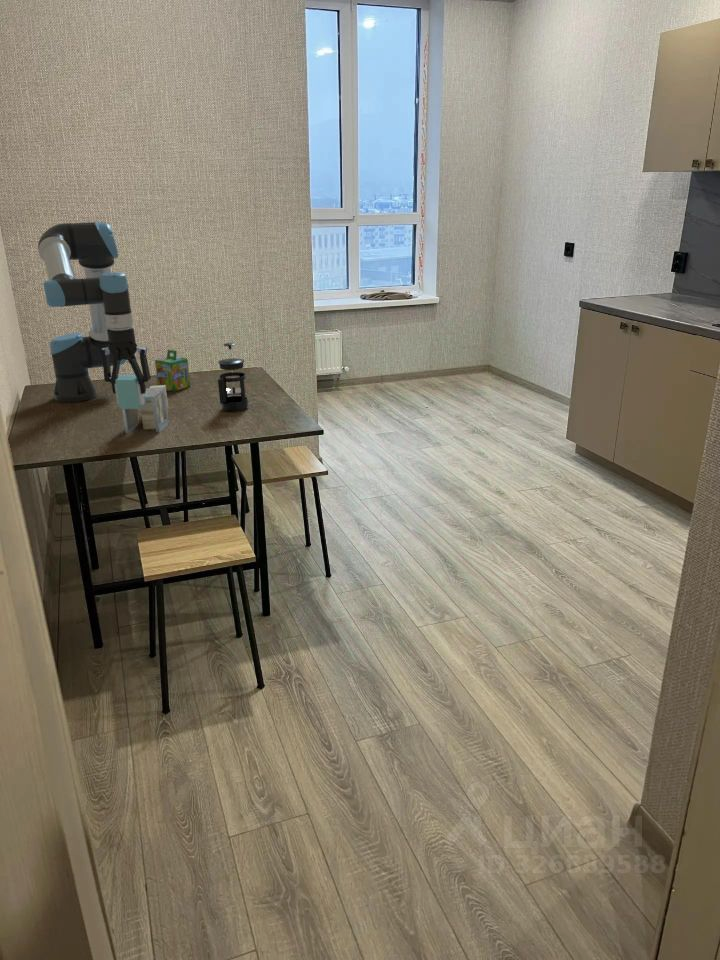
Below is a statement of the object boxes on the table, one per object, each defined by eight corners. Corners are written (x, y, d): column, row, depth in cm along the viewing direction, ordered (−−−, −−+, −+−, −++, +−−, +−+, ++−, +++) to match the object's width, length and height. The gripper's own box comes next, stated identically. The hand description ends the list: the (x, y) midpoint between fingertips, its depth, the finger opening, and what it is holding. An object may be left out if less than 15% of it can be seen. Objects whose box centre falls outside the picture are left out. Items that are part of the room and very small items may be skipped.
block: (119, 408, 213) (115, 379, 210) (126, 402, 219) (122, 374, 215) (139, 408, 213) (135, 379, 210) (145, 402, 219) (141, 374, 215)
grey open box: (159, 433, 224) (154, 396, 219) (125, 433, 224) (119, 396, 220) (168, 423, 233) (164, 388, 228) (136, 423, 233) (130, 388, 229)
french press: (236, 402, 255) (230, 339, 246) (255, 406, 250) (250, 342, 241) (212, 410, 246) (206, 345, 237) (232, 414, 241) (226, 348, 232)
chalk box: (157, 389, 275) (152, 351, 269) (174, 384, 282) (170, 347, 276) (174, 392, 270) (169, 354, 264) (191, 386, 277) (187, 349, 272)
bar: (159, 429, 228) (155, 402, 225) (143, 429, 228) (139, 403, 224) (168, 409, 248) (165, 385, 245) (154, 410, 248) (150, 385, 244)
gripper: (83, 330, 203) (96, 407, 212) (147, 330, 202) (158, 407, 211) (93, 325, 210) (105, 400, 219) (156, 325, 209) (165, 400, 218)
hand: (131, 403), depth 215 cm, fingers closed on block, 6 cm apart
